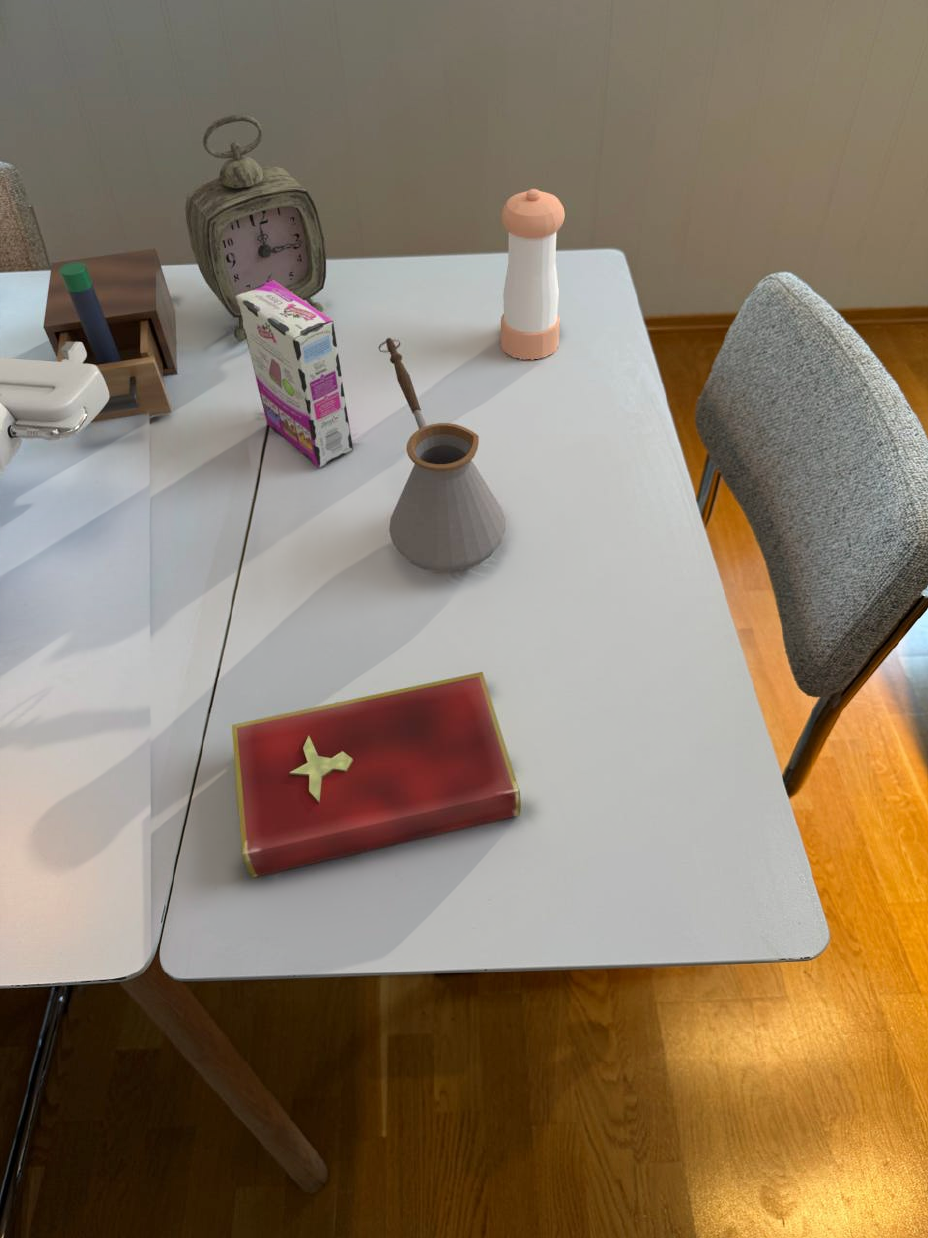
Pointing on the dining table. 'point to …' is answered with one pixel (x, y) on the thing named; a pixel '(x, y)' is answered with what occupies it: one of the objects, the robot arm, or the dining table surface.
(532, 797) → the dining table surface
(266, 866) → the hardcover book
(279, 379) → the candy bar box
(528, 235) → the pepper shaker
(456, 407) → the dining table surface
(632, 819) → the dining table surface
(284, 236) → the tabletop clock
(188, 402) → the dining table surface
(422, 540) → the coffee pot
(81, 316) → the marker
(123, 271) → the cabinet
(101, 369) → the drawer
